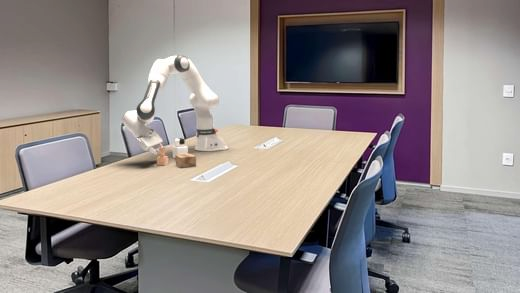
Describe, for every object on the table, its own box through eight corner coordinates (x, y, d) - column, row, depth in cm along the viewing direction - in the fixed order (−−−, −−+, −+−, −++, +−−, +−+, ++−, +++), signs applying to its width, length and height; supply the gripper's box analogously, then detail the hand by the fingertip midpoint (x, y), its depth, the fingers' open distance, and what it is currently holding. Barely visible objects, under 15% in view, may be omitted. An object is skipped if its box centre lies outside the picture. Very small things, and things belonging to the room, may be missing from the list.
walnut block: (190, 163, 268) (190, 153, 267) (196, 166, 260) (195, 156, 259) (175, 165, 264) (175, 155, 263) (180, 168, 256) (180, 157, 255)
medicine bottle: (182, 156, 290) (181, 137, 287) (188, 157, 284) (187, 138, 282) (172, 157, 285) (171, 138, 283) (178, 159, 280) (177, 139, 277)
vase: (160, 163, 268) (159, 146, 266) (168, 163, 267) (167, 146, 265) (157, 165, 264) (156, 148, 262) (164, 165, 263) (164, 148, 261)
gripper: (138, 133, 254) (155, 151, 254) (154, 128, 274) (170, 145, 273) (131, 141, 256) (148, 159, 255) (148, 135, 275) (164, 152, 275)
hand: (160, 152), depth 264 cm, fingers open, 8 cm apart
